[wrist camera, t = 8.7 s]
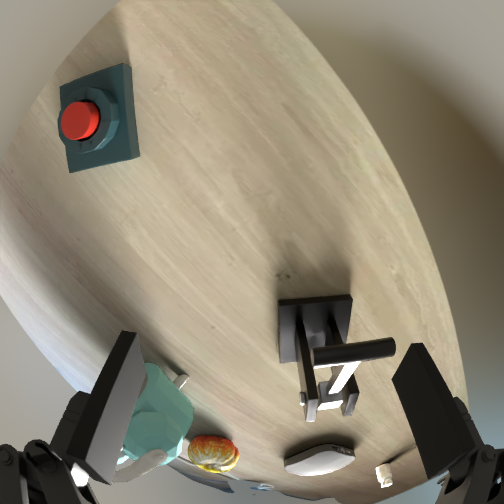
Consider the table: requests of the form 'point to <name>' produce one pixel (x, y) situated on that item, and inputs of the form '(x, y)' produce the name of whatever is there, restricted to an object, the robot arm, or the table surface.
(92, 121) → the button
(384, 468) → the pill bottle
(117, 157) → the button box
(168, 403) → the alarm clock
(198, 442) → the fruit
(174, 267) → the table surface
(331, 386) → the lever
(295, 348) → the bracket
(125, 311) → the table surface
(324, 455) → the media streaming box
